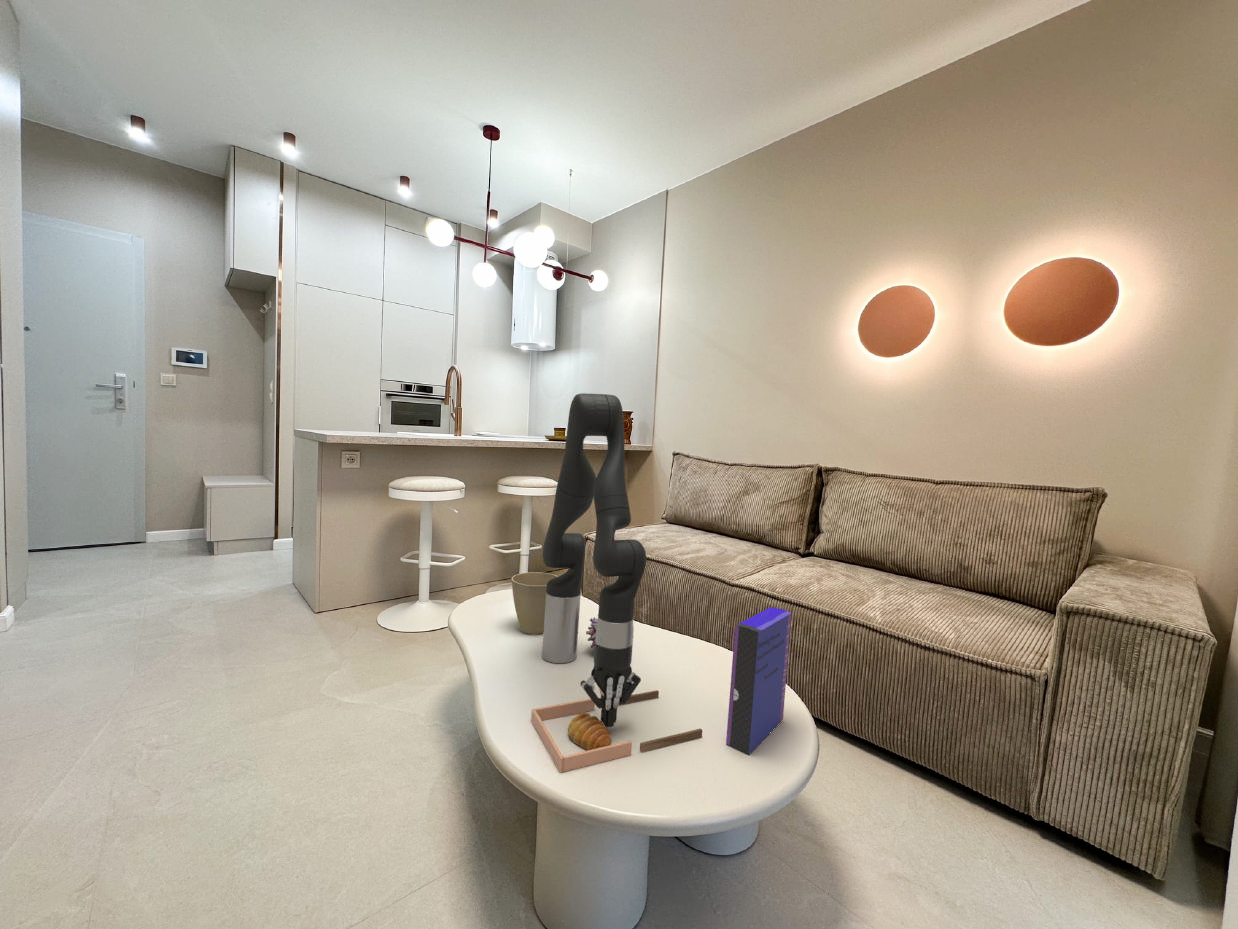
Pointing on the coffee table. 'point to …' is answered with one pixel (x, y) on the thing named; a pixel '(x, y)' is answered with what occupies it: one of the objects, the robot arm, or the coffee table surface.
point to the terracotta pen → (578, 758)
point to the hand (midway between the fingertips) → (608, 725)
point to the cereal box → (758, 678)
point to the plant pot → (530, 600)
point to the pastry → (588, 732)
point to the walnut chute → (665, 740)
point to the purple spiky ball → (592, 631)
